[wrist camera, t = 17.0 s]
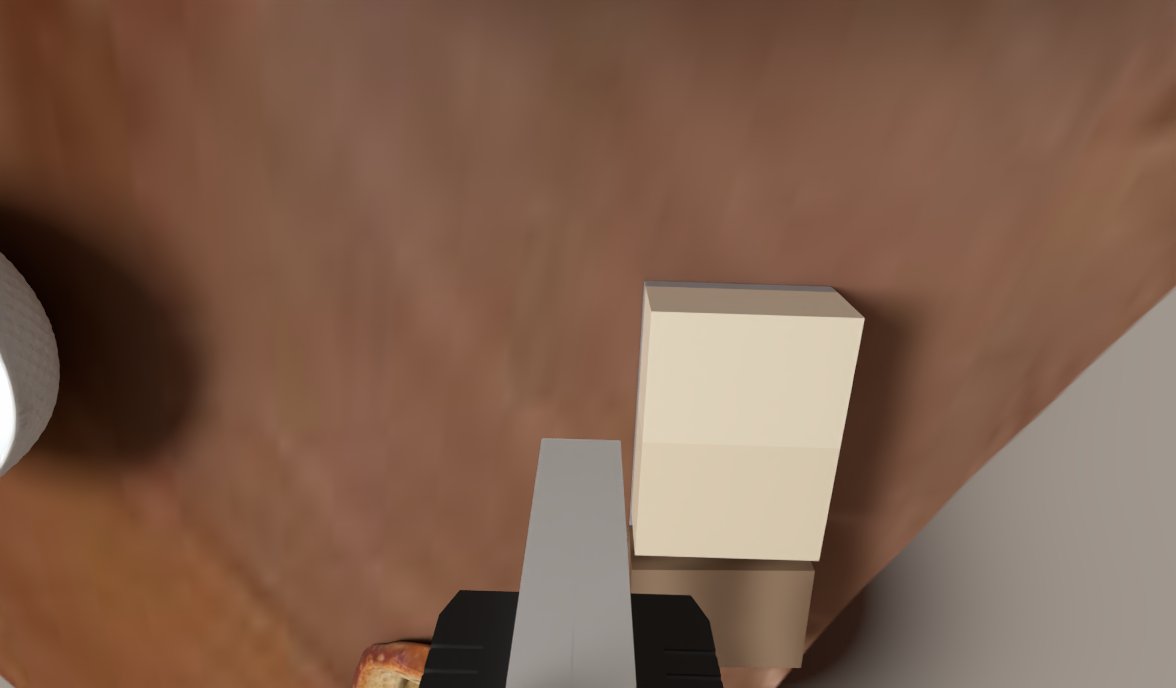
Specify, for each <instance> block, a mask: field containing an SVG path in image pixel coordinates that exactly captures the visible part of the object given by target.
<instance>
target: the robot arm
mask: <svg viewBox="0 0 1176 688" xmlns="http://www.w3.org/2000/svg"><path fill="white" fill-rule="evenodd" d="M419 688H723V684H722V682H721V674H720V669H719V664H718V659H717V656H716V649H715V644H714V639H713V635H712V630H711V625H710V621H709V619H708V618H707V616H706V615H705V614H704V612H703V611H702V610H701V608H700V607H699V606H698V604H697V603H696V601H695V600H694V599H693V597H692V596H691V595H668V594H636V593H630V581H629V565H628V550H627V534H626V519H625V503H624V488H623V472H622V457H621V441H617V440H585V439H553V438H542V440H541V447H540V454H539V461H538V468H537V475H536V482H535V488H534V495H533V502H532V509H531V516H530V523H529V530H528V537H527V544H526V550H525V557H524V564H523V571H522V578H521V585H520V592H502V591H470V590H460V591H459V592H458V593H457V594H456V595H455V597H454V598H453V599H452V600H451V601H450V603H449V604H448V605H447V606H446V607H445V608H444V610H443V611H442V612H441V613H440V614H439V617H438V621H437V624H436V628H435V631H434V635H433V638H432V642H431V649H430V650H429V653H428V656H427V660H426V663H425V667H424V674H423V675H422V677H421V681H420V684H419Z"/></svg>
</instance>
